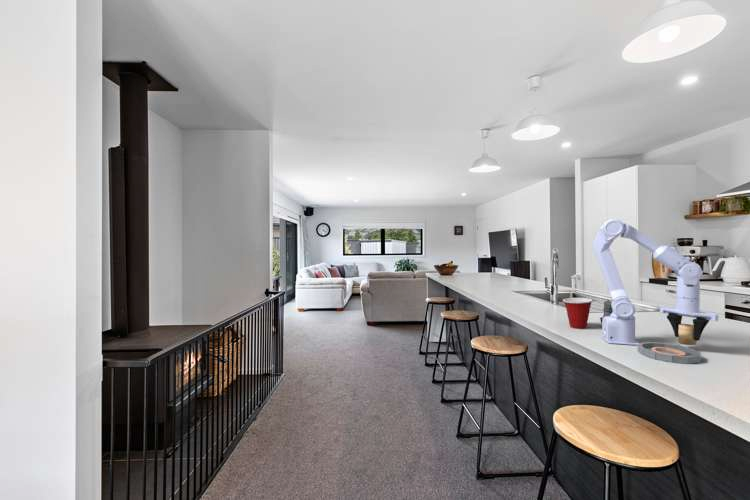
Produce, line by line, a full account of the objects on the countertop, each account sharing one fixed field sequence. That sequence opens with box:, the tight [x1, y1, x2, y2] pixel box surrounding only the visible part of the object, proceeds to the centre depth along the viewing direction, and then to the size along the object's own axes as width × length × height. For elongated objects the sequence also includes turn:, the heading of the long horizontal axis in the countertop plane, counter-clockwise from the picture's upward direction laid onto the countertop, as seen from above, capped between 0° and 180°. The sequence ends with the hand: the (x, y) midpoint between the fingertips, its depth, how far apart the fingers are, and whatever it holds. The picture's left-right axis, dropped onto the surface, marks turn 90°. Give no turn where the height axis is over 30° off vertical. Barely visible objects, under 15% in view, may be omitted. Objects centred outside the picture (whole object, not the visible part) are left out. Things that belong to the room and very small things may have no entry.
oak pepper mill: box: [677, 323, 697, 346], centre depth 113 cm, size 4×4×6 cm
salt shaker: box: [599, 298, 614, 328], centre depth 142 cm, size 6×6×12 cm
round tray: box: [637, 341, 702, 365], centre depth 107 cm, size 15×15×2 cm
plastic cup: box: [562, 297, 593, 330], centre depth 143 cm, size 11×11×12 cm
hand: (687, 338), depth 113 cm, fingers closed on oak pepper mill, 4 cm apart
